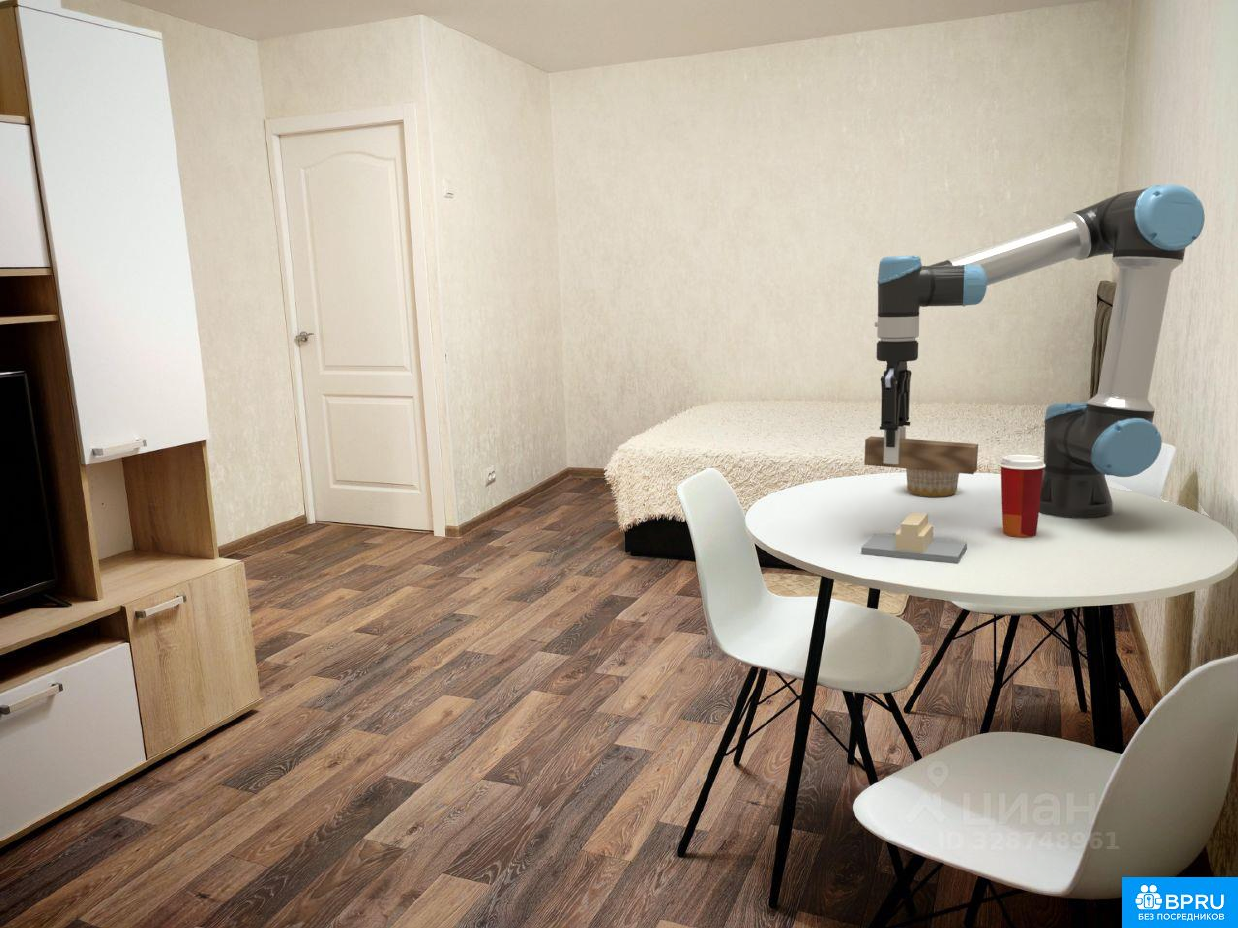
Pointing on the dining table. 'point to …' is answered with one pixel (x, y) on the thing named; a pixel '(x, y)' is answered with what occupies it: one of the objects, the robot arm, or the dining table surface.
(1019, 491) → the coffee cup
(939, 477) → the planter
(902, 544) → the fulcrum
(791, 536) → the dining table surface
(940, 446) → the bar
